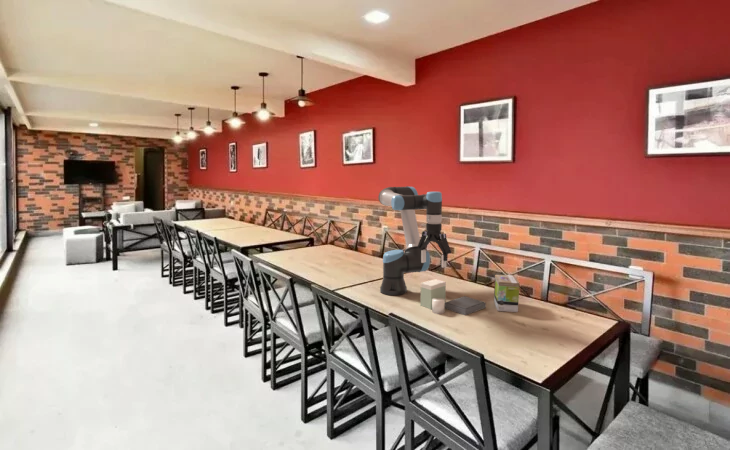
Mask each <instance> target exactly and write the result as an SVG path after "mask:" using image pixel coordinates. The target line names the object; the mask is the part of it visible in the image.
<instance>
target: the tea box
mask: <svg viewBox="0 0 730 450" xmlns="http://www.w3.org/2000/svg"><path fill="white" fill-rule="evenodd" d="M493 288H494V290H493V292H494V293H493V303H494V305H495V309H496V310H497V311H498V312H508V313H509V312H510V313H518V312H519V299H520V296H519V295H520V282H519V280H518V279H517V277H516V276H515V275H510V274H495V275H494V287H493Z"/></svg>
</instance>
